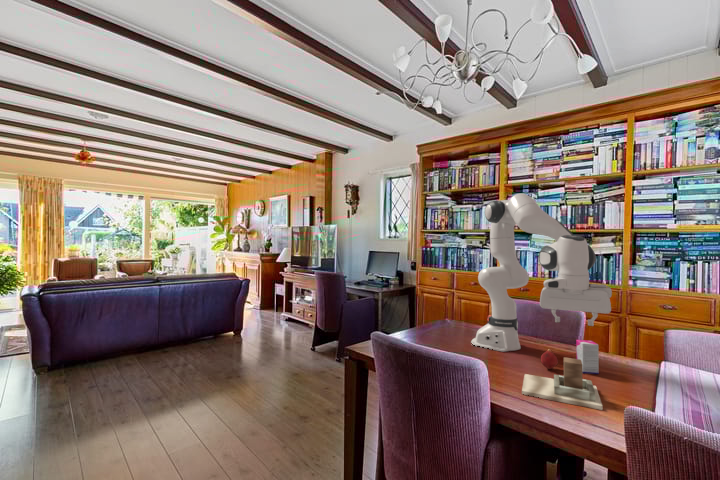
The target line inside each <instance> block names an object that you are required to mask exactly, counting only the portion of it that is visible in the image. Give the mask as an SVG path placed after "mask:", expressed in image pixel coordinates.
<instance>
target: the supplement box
mask: <svg viewBox="0 0 720 480" xmlns="http://www.w3.org/2000/svg"><path fill="white" fill-rule="evenodd" d="M575 340H576V342H575V344H576V345H575V346H576V349H575V351H576V352H575V355H576V356H575V359H580V360H581V362H582V374H588V375H589V374H590V375H591V374H592V375H599V374H600V373H599V372H600V370H599V369H600V368H599V366H600V365H599V362H600V361H599V359H600V358H599V353H600V352H599V344H598V343H596V342H594V341H593V340H586V339H585V340H584V339H575Z"/></svg>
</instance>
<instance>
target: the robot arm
mask: <svg viewBox="0 0 720 480" xmlns="http://www.w3.org/2000/svg"><path fill="white" fill-rule="evenodd" d="M484 215H485V218H486V219H485V220H487V221H488V222H490V231H489V243H490V244H489V245H490V247H489V248H490V249H489V250H490V255H491V256H492V258H494V259H496V261H498V263H499V266H489V267H487V268H482V269H480V270H479V273H478V276H477V280H478V284H479V285H480V286H481V288H483V290H485V291H486V293H487V294H488V296H489V299H490V302H491V314H489V315H488V316H487V323H486V324H485V325H483V326H482V327H480V328H479V329H478V330H477V331H476V335H475V337H474V338H472V340H471V341H470V344H471V343H472V344H473V345H475V346H474V347H477V346H480V347H479V348H482V347H484V348H483V349H487V348H489V349H488V350H492V349H493V351H498V352H502V353H503V352H509V351H510V352H511V351H512V352H513V351H518V350H521V348H522V347H521V344H520V340H519V335H518V329H519V321H518V318H517V302H516V300H514V298H512V297H510V296H509V294H508V291H507V290H508V289H512V290H513V289H518V288H523V287H525V286H527V285H528V283H529V280H530V277H529V276H530V275H529V272H528V270H527V269H526V268H524V267H523V266H522V265H521V263H520V261H519V260H518V256H517V254H516V245H515V244H516V243H515V242H516V241H515V226H516V225H517V227H518V228H519V229H520V230H522V231H523V232H525V233H528V234H534V235H541V236H544V237H547V238H548V237H549V238H551V239H553V240H554V241H555V242H553V243H550V244H548V245H544V246H543V247H542V248H541V249H540V251H539V253H538V263H539V265H540V266H541V267H542V268H543V269H545V270H546V271H550V272H551V271H552V272H558V273H557V277H551V278H550V279H549V278H548V279H545V280H544V281H543V288H542V289H541V292H540V298H539V306H540V307H541V309H549V310H550V311H551V314H552V315H553V317H554V322H555V323H559V324H560V323H561V317H560V316H558V315H557V313H556V312H557V311H558V310H560V311H572V312H581V313H582V312H583V313H591V315H592V317H591V318H590V319H587V326H590V327H594V324H595V322H594V321H595V320H597V318H598V316H599V314H605V315H606V314H607V315H608V314H610V313H611V312H612V306H611V305H612V303H611V299H610V298H611V297H612V295H613V291H612V288H611V287H610V286H608V285H606V284H597V283H596V284H595V283H590V273H589V270H591V269H592V268H593V266H594V265H595V263H596V262H597V255H596V252H595V250H594V249H593V247H591V246H590V245H588V242H587V239H586V238H585V237H584V236H581V235H575V234H574V233H572V231H570V229H569V228H568V227H567V226H565V224H563V223H562V222H561V221H559V220H558V219H556V218H554V217H553V216H551V215H550V214H548V213H547V212H546V211H544V209H542V208H541V207H540V206H539V204H538V203H537V202H536V201H535V200H534V199H533V198H532V197H531V196H530V195H528V194H527V193H516V194H514V195H513V196H511V197H510V198H509V199H501V200H492V201H489V202H488V203H487V204H486V205H485V208H484ZM472 344H471V345H472ZM473 345H472V346H473Z"/></svg>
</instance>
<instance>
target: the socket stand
mask: <svg viewBox="0 0 720 480" xmlns="http://www.w3.org/2000/svg"><path fill="white" fill-rule="evenodd" d="M523 394H524V396H528V395H529V397H533V396H534V397H533V398H538V397H539V398H540V399H544V400H549V401H554V402H560V403H563V404H569V405H574V406H580V407H585V408H590V409H595V410H600V411H603V410H604V409H603V406H604V405H603V403H602V400H601V397H600V395H599V390H598V388H597V386H596V385H593V382H592V380H591V379H584V378H583V389H577V388H571V387H566V386H564V375H560V374H553V378H551V377H545V376H540V375H534V374H533V375H532V374H527V373H524V376H523V381H522V388H521V395H523Z"/></svg>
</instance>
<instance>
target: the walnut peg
mask: <svg viewBox="0 0 720 480" xmlns="http://www.w3.org/2000/svg"><path fill="white" fill-rule="evenodd" d="M563 376H564V386H566V387H571V388H577V389H583V379H584V378H583V373H582V362H581V360H580V359H576V358H571V357H565V356H564V357H563Z"/></svg>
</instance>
